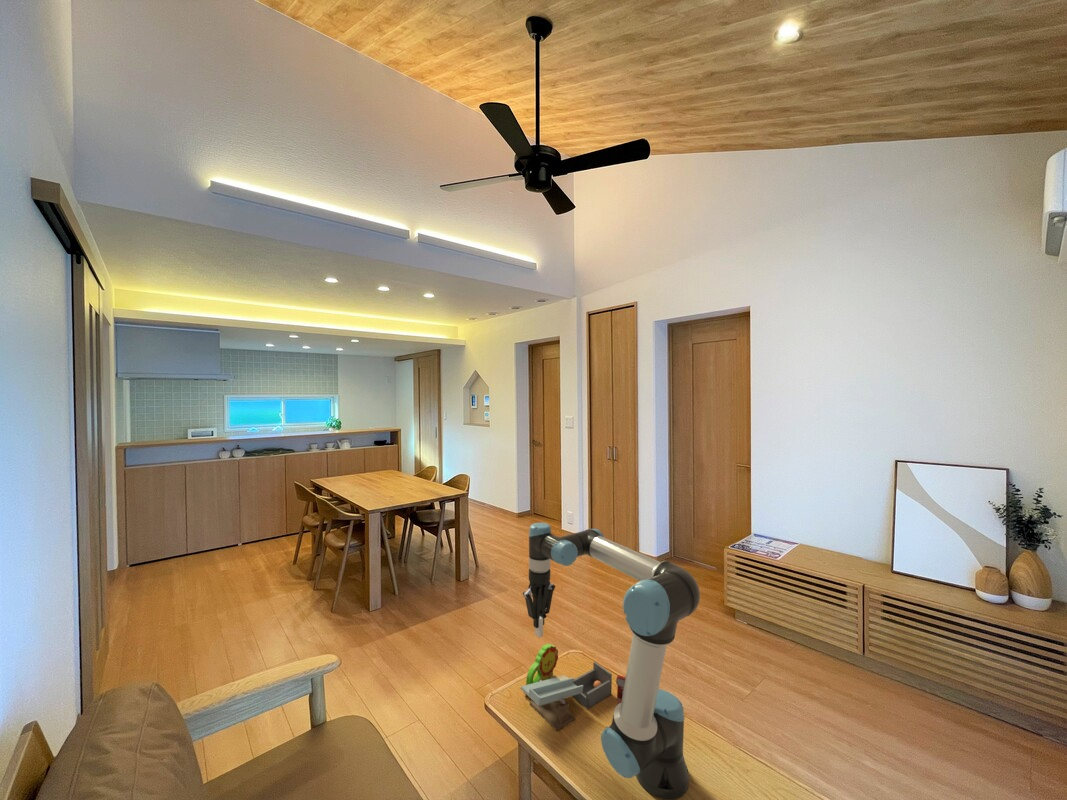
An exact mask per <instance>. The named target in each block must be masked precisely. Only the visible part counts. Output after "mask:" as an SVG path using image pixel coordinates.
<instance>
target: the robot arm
mask: <svg viewBox="0 0 1067 800" xmlns="http://www.w3.org/2000/svg"><path fill="white" fill-rule="evenodd" d="M528 533H529V534H528V581H529V583H528V584H529V585H528V589H527V590H526V591H523V592H522V595H523V597H524V599H525V604H526V605H525V606H526V609H527V615H528V617H529V618H531V619H532V620H533V627H534V636H536V637H538V638H542V637H544V626H545V619H546V618H547V617H548V614H549V613H550V611H551V606H552V605H551V604H552V599H553V594H554V591H555V588H556V585H555V583H552V582H551V581H550V580H551V562H552V561H554V562H555V563H556V564H559V565H561V566H562V565H563V566H565V567H569V566H571V565H572V564H573V563H574V562H575V561H576V560H577V558H579V557H582V556H586V555H587V556H588V557H590V558H593V559H595V560H597V561H599V562H601V563H603V564H605V565H607V566H609V567H611V568H613V569H615V570H617V571H619V572H620V573H623V574H624V575H627V576H629V577H631V578H633V579H634V580H636V581H638V582H636V583H635V584H633V585H632V586H630V587H629V588H628V589H627V591H626V592H625V594H624V597H623V602H622V609H623V613H624V614H625V617H624V618H625V621H626V622H627V624H628V627H629V630H630V631H631V633H632V638H631V644H630V649H629V656H628V662H627V668H626V672H625V673H626V674H625V677H626V679H625V684H624V690H623V696H622V702H621V703H619V702H618V703H619V704H617V705H616V706H615V708H614V711H613V714H612V715H613V716H612V720H611V721H612V722H611V724H610V725H609V726H606V727H605V728H604V729H603V731H602V733H601V735H600V737H601V738H600V740H601V741H600V742H601V746H602V750H603V752H604V755H605V757H606V758H607V761H608V763H609V764H610V766H611V767H612V768H613V769H614V771H615V772H616V773H617V774H618V775H620V776H621V777H622V778H625V779H633V778H634V777H636V780H637V781H638V783H639V784H640V785H641V787H642V788H643V789H644V790H645V791H647V792H648V794H649V793H650V794H651V795H653V796H655V797H657V798H660V799H663V800H674V799H675V800H677V799H679V798H680V797H682V796H684V795H685V794H686V793H687V791H688V789H689V786H690V785H689V784H690V777H689V776H690V775H689V770H688V766H687V764H686V761H685V755H684V730H685V729H684V728H685V727H684V724H685V715H684V706H683V703H682V702H681V700H680V699H679V698H678V697H677V696H676V695H674V694H673V693H671V692H669V691H667V690H664V689H660V688H659V687H660V683H661V677H662V672H663V667H664V661H665V655H666V650H667V646H668V645H670V644H672V643H673V642H674V640H675V637H676V633H677V627H678V623H679V622H680V621H681V620H682V619H685V618H686V617H688V616H691V615H693V614H694V612H695V611H696V610H697V608H698V606H699V604H700V599H701V594H700V593H701V592H700V588H699V585H698V582H697V581H696V579H695V577H694V576H693V575H692V574H691V573H690V572H689V571H688V570H686V569H684V568H682V566H679V565H677V564H675V563H672V562H670V561H668V560H662V561H659V560H658V559H657V560H656V559H654V558H652V557H650V556H647V555H645V554H643V553H641V552H638V551H635V550H633V549H632V548H629V547H626V546H624V545H622V544H620V543H617V542H615V541H613V540H610V539H608V538H606V537H605V536H604V533H602V532H601V530H599V529H597V528H587V529H585V530H582V531H578V532H575V533H569V534H567V535H563V536H557V535H555V534H554V533H552V528H551V525H550V524H549V523H546V522H536V523H532V524H531V525H530V526H529V532H528Z"/></svg>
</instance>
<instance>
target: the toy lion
mask: <svg viewBox="0 0 1067 800" xmlns="http://www.w3.org/2000/svg"><path fill="white" fill-rule="evenodd" d="M558 654H559V649H558V648H557V646H555V645H553V644H550V643H546V644H545V645H542V646H541V648H540V650H538V652H537V654H536V657H535V660H534V662H533V663H532V665H531V666H530V668H529V669H528V672H527V674H526V683H525V685H528V684H532V683H536V682H539V680H542V681H544V680H548V679H552V678H556V677H557V676H556V675H554V669H555V668H556V667H557V662H558V660H559V655H558ZM535 674H536V675H535ZM523 693H524V694H525V695H527V694H526V693H525V692H523ZM527 696H528V695H527Z"/></svg>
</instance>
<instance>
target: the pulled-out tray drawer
mask: <svg viewBox="0 0 1067 800" xmlns="http://www.w3.org/2000/svg"><path fill="white" fill-rule="evenodd" d="M592 667H593V668H592V669H591V670H589V671H587V672H585V673H582V674H581V675H580V676H577V677H576V678H574V681H573V683H574V684H575V685H576V686H580V685H583V692H582V693H580V694H577V695H574V696H571V697H573V699H575V701H577V702H578V703H579V704H581V705H582V706H583V707H584V708H585V709H587V710H589V709H592V707H594V706H596V705H598V704H599V703H600V702H601V703H602V701H604V700H605V699H608V698H609V697H611V696H612V689H613V688H612V685H613V684H612V683H613V675H612V672H611V671H609V670H607V669H606V668H605V667H603V666H602V665H600V664H599V663H597V661H594V662H593V666H592ZM595 681H600V682H601V683H602V684H601V685H599V686H597V687H596V688H594V686H593V685H594V682H595Z"/></svg>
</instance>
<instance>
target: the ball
mask: <svg viewBox="0 0 1067 800" xmlns="http://www.w3.org/2000/svg"><path fill="white" fill-rule="evenodd" d="M601 684H602V683H601V682H600V681H595V682H594V685H593V686H594V688H596V687H597V686H599V685H601Z"/></svg>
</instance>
